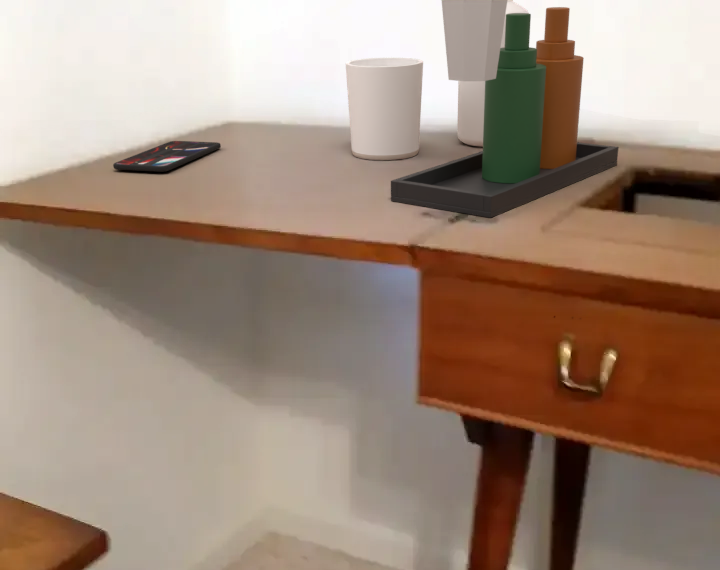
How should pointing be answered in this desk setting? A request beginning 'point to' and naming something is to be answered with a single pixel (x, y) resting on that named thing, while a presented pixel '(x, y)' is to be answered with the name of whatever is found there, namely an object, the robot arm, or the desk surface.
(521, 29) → the green bottle
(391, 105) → the mug
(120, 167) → the smartphone
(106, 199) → the desk surface
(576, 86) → the amber bottle
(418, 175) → the tray
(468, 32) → the low poly bottle
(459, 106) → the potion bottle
